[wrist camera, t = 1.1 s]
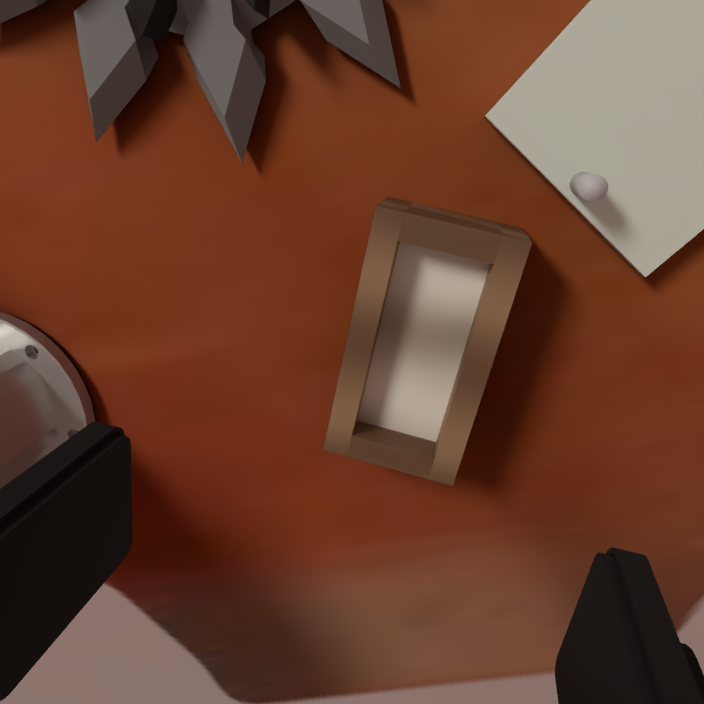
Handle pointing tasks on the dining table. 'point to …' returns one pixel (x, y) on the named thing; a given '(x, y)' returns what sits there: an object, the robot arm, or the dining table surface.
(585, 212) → the panel
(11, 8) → the decorative piece
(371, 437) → the frame
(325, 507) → the dining table surface
